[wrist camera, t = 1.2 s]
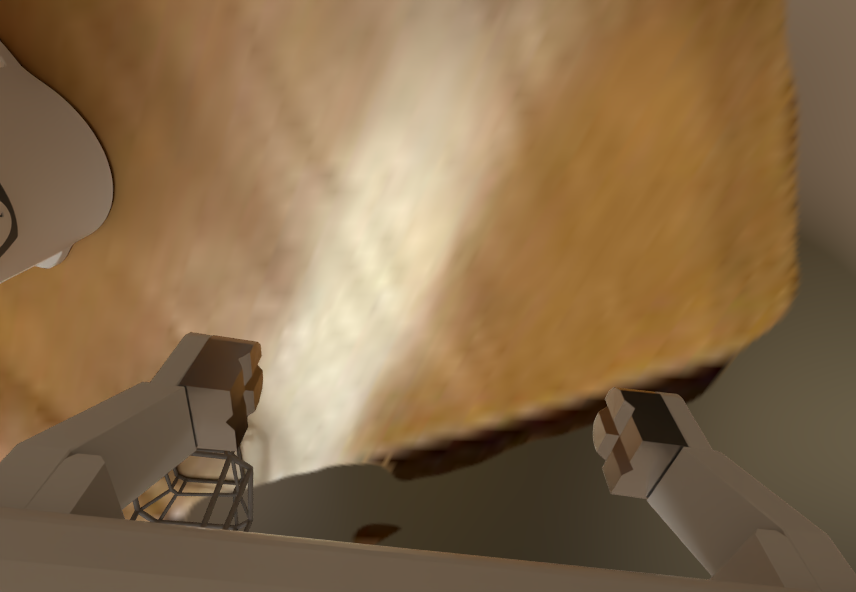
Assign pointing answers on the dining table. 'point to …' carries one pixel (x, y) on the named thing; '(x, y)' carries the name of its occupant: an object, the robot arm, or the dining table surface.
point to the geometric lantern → (237, 491)
